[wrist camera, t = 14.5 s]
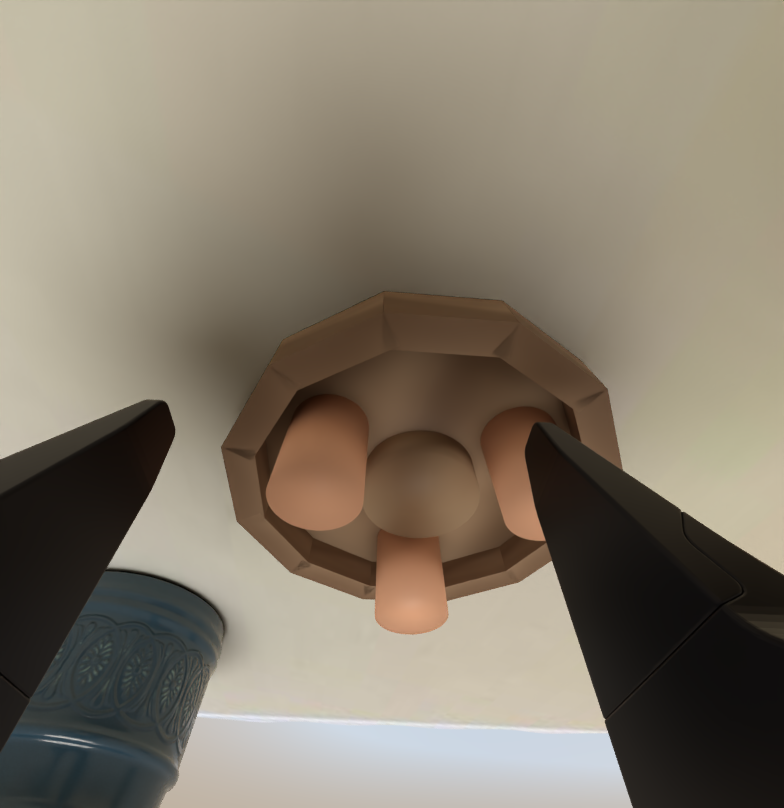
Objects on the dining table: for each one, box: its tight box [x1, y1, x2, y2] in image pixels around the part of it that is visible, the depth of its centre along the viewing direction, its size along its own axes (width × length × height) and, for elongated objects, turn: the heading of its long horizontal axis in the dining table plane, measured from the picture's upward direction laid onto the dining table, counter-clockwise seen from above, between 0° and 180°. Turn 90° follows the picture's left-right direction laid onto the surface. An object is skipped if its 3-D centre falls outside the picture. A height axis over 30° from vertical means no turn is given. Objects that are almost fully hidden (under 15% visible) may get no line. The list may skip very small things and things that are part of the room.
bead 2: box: [375, 529, 448, 634], centre depth 21 cm, size 4×4×4 cm
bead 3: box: [480, 406, 557, 541], centre depth 16 cm, size 4×4×4 cm
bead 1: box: [266, 394, 369, 531], centre depth 16 cm, size 4×4×4 cm
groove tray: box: [221, 291, 623, 601], centre depth 19 cm, size 18×18×3 cm
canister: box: [0, 571, 224, 808], centre depth 21 cm, size 13×13×18 cm
